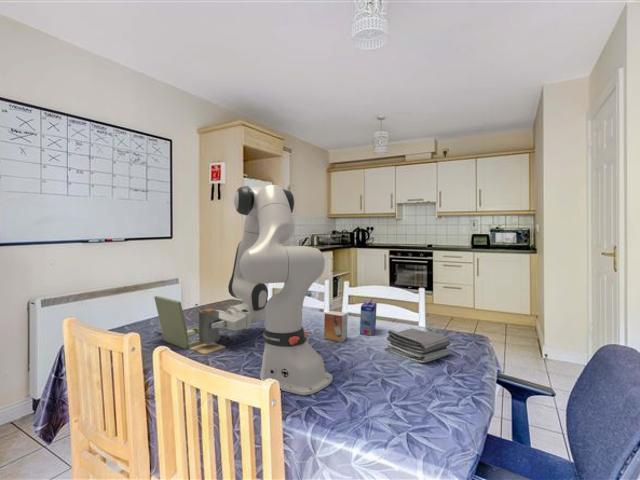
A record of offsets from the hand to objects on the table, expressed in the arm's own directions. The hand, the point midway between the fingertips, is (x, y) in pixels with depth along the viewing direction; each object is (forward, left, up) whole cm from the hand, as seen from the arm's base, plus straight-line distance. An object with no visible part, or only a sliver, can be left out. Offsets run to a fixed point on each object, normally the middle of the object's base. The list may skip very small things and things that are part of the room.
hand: (205, 324), depth 123 cm
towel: (-63, -44, -10) cm, 77 cm away
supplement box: (+29, -2, -9) cm, 30 cm away
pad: (0, -1, -9) cm, 9 cm away
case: (+14, -1, -9) cm, 17 cm away
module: (0, -1, -6) cm, 7 cm away
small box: (-31, -39, -9) cm, 51 cm away
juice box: (-37, -55, -9) cm, 67 cm away
